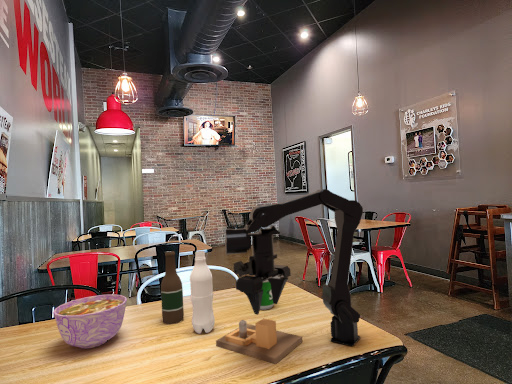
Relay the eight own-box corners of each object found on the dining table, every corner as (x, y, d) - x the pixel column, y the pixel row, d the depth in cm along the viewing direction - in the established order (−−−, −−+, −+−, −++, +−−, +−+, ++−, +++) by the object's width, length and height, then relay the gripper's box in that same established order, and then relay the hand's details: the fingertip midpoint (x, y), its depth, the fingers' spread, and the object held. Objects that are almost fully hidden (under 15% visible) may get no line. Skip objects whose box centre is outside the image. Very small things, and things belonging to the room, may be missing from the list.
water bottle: (210, 335, 98) (206, 253, 99) (188, 334, 100) (184, 254, 100) (218, 326, 105) (214, 249, 106) (197, 325, 107) (193, 250, 107)
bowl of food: (43, 364, 86) (42, 320, 86) (66, 334, 105) (65, 299, 105) (124, 351, 91) (122, 309, 91) (131, 325, 110) (130, 291, 110)
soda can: (266, 312, 116) (265, 278, 116) (250, 308, 121) (248, 276, 121) (278, 305, 122) (276, 274, 123) (262, 302, 127) (260, 272, 127)
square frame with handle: (280, 340, 89) (279, 318, 89) (265, 351, 83) (263, 328, 83) (241, 330, 97) (240, 310, 97) (225, 340, 91) (224, 319, 91)
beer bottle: (187, 316, 116) (184, 249, 117) (180, 324, 108) (176, 253, 109) (166, 316, 117) (163, 250, 117) (158, 324, 109) (154, 254, 110)
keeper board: (302, 341, 91) (300, 318, 91) (275, 364, 80) (274, 337, 80) (246, 328, 103) (245, 307, 103) (216, 345, 91) (215, 322, 91)
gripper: (258, 245, 100) (261, 295, 100) (218, 255, 85) (221, 315, 85) (289, 246, 94) (293, 300, 94) (252, 258, 79) (255, 322, 78)
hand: (266, 308), depth 88 cm, fingers open, 9 cm apart
